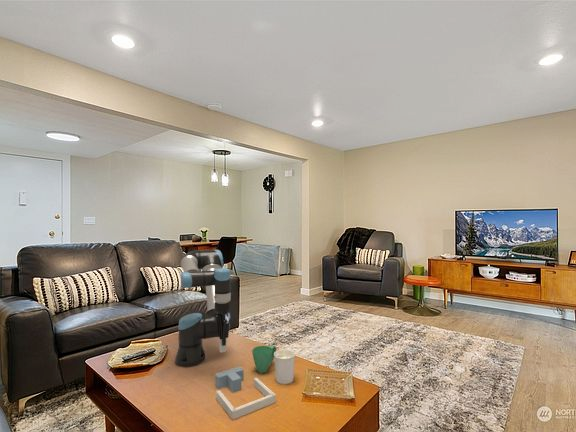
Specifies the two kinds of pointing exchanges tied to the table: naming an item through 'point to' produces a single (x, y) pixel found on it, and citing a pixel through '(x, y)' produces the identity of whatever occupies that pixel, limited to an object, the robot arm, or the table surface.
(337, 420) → the table surface
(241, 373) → the t block
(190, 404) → the table surface
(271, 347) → the mug
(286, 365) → the candle holder
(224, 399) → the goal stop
